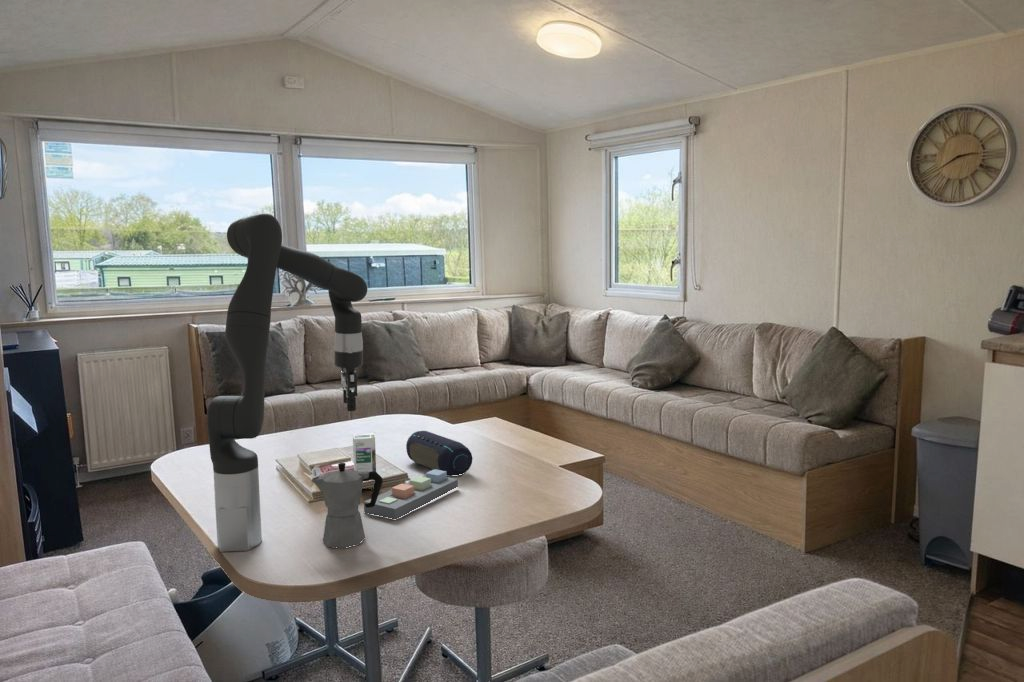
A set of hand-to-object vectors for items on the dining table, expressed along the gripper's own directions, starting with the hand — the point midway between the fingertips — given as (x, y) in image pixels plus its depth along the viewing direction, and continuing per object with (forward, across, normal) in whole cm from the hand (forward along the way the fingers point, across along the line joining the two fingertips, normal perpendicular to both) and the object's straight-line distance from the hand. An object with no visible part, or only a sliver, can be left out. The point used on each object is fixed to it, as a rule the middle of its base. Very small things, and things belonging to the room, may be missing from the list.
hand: (349, 406), depth 196 cm
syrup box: (+22, +4, +4) cm, 23 cm away
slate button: (+20, +13, +21) cm, 32 cm away
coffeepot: (+21, +40, -5) cm, 45 cm away
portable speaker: (+22, -5, +26) cm, 35 cm away
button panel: (+21, +20, +14) cm, 32 cm away
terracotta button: (+20, +22, +10) cm, 31 cm away
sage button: (+20, +18, +16) cm, 31 cm away
